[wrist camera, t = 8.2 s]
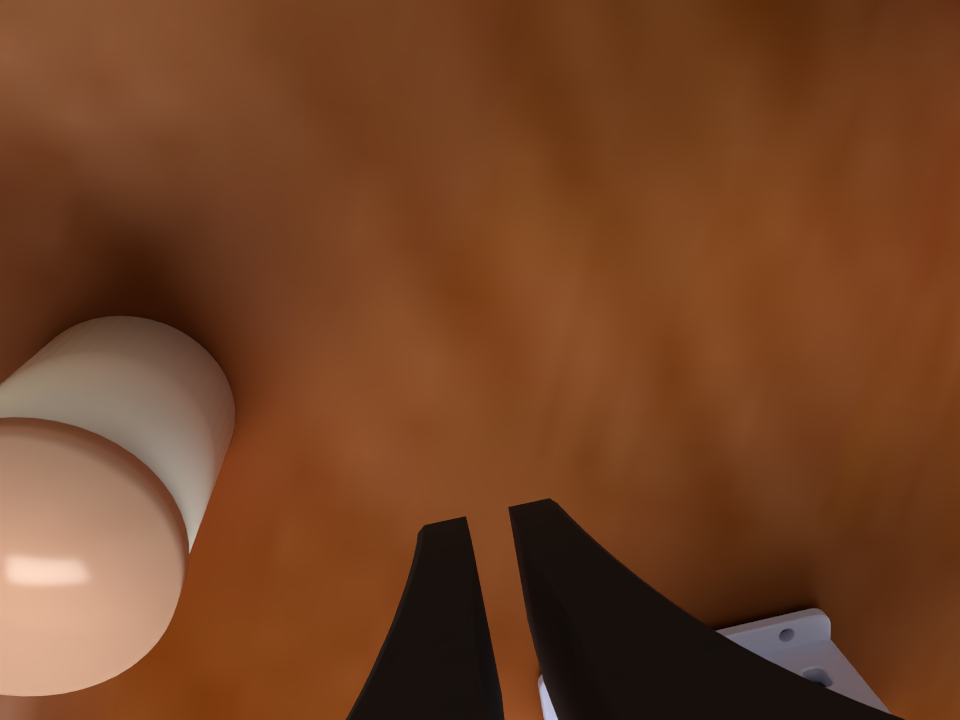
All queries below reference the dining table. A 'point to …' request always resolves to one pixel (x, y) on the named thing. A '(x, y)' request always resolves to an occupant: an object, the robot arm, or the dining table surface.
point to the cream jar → (102, 496)
